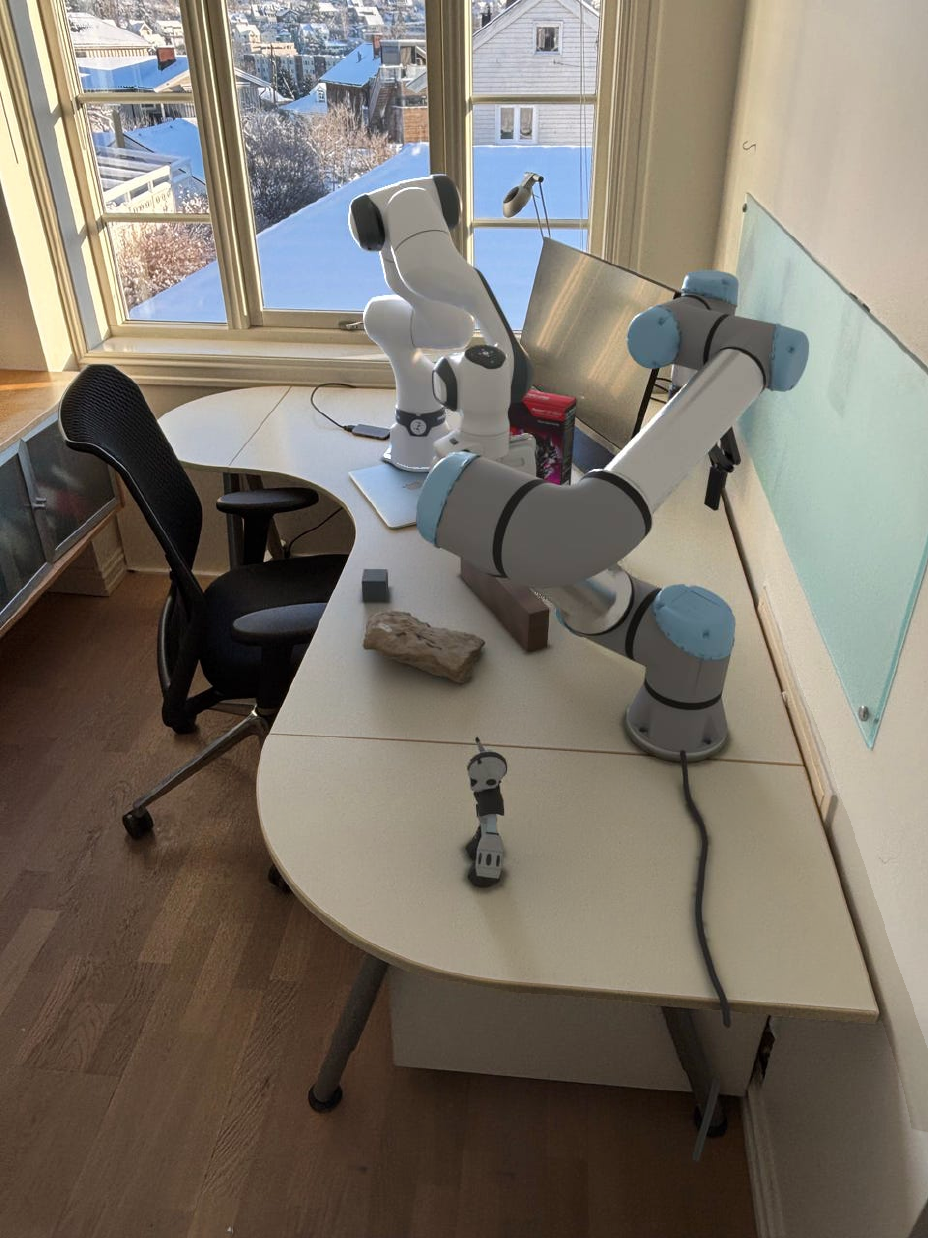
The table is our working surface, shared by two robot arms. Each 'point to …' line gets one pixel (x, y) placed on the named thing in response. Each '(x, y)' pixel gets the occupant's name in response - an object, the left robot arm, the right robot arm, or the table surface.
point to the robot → (486, 816)
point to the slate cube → (375, 585)
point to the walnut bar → (511, 606)
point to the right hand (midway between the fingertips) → (676, 515)
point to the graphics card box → (547, 432)
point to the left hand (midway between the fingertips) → (482, 511)
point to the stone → (423, 644)
